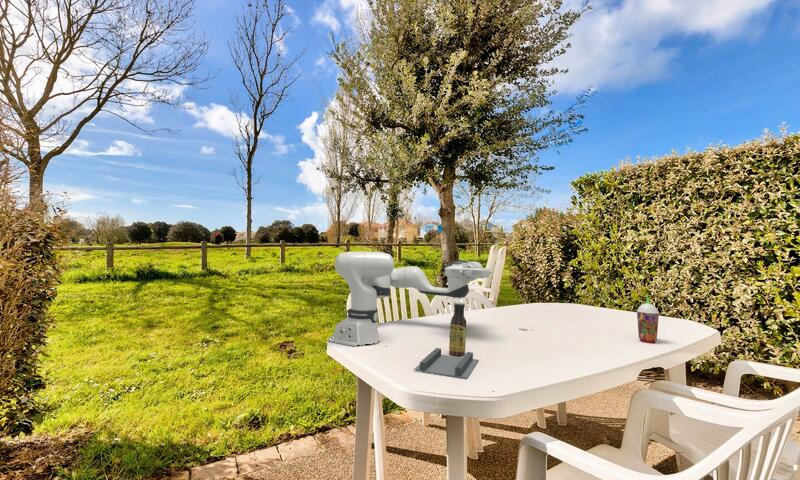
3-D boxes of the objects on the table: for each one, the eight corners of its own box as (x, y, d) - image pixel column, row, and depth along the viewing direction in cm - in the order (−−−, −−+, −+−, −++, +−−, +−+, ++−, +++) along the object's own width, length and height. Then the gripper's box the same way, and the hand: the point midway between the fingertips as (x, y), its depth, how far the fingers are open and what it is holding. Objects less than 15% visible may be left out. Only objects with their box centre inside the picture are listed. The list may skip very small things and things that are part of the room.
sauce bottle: (446, 355, 141) (447, 303, 141) (452, 351, 146) (452, 301, 147) (463, 357, 138) (463, 304, 138) (468, 353, 143) (468, 302, 144)
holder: (413, 371, 122) (413, 362, 122) (431, 354, 141) (431, 347, 141) (467, 379, 115) (467, 369, 115) (478, 361, 134) (478, 352, 134)
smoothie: (640, 343, 162) (640, 298, 163) (634, 338, 170) (634, 295, 171) (662, 344, 160) (662, 299, 160) (654, 340, 168) (655, 296, 168)
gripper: (492, 279, 169) (487, 281, 156) (449, 277, 177) (441, 279, 164) (492, 265, 169) (488, 267, 156) (449, 264, 177) (441, 265, 164)
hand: (463, 273), depth 160 cm, fingers closed
